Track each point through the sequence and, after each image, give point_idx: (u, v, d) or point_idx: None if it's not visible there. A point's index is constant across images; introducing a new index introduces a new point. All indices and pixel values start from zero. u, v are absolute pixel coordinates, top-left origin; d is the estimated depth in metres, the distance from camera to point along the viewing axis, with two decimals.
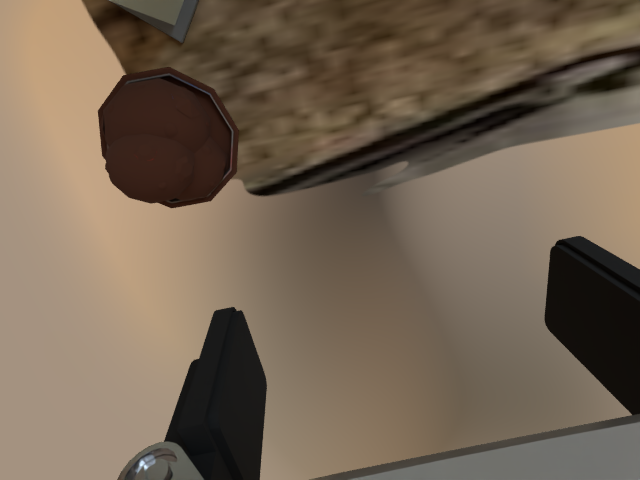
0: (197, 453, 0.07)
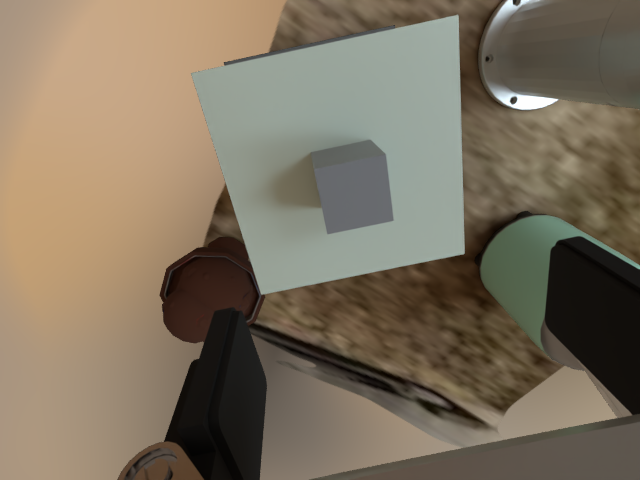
0: (197, 453, 0.07)
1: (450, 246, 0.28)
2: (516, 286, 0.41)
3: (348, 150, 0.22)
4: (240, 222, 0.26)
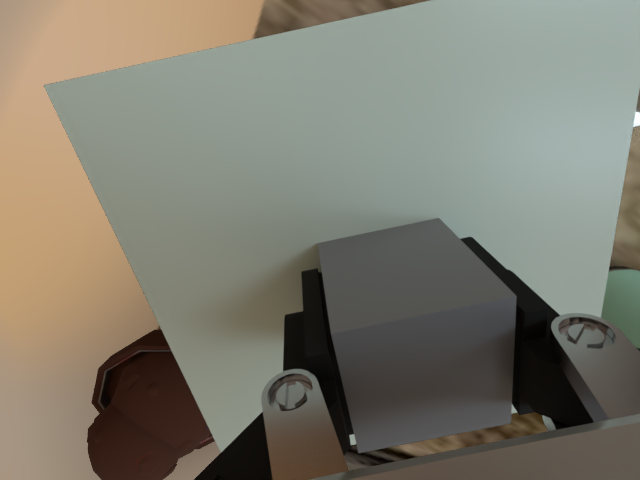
0: (318, 381, 0.08)
1: None
2: None
3: (402, 254, 0.10)
4: (183, 365, 0.14)
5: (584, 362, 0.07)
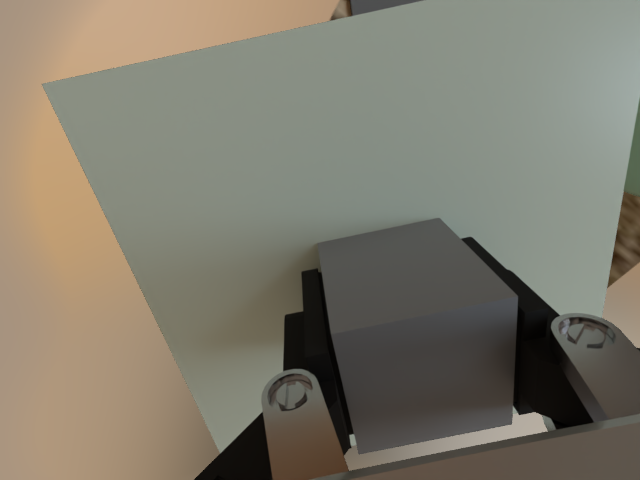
0: (318, 381, 0.08)
1: None
2: None
3: (402, 254, 0.10)
4: (182, 366, 0.14)
5: (584, 362, 0.07)
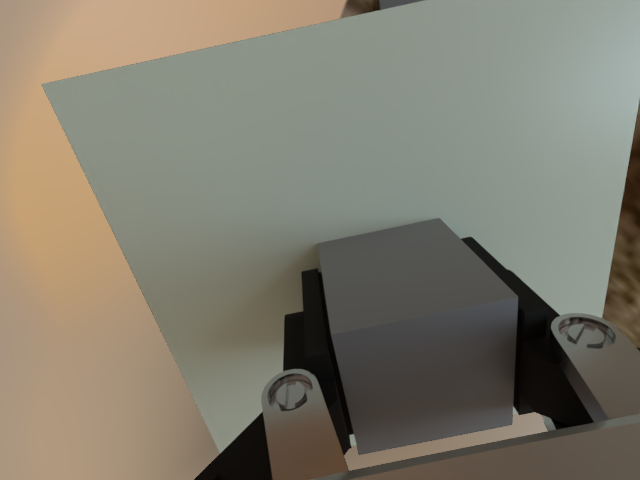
0: (318, 381, 0.08)
1: None
2: None
3: (402, 254, 0.10)
4: (182, 366, 0.14)
5: (584, 362, 0.07)
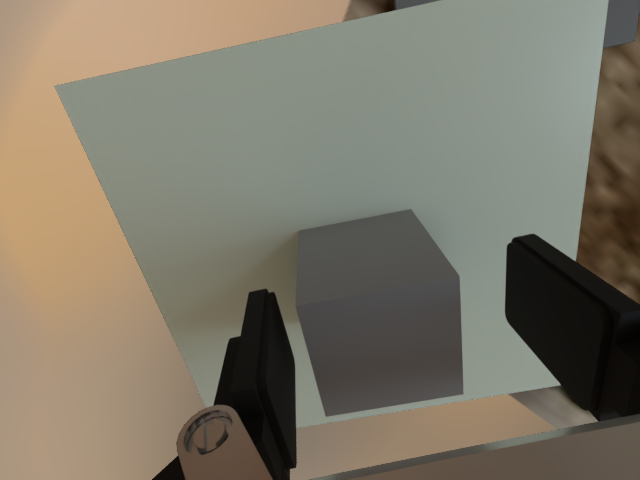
0: (246, 416, 0.08)
1: (537, 375, 0.16)
2: None
3: (370, 240, 0.11)
4: (178, 341, 0.15)
5: None
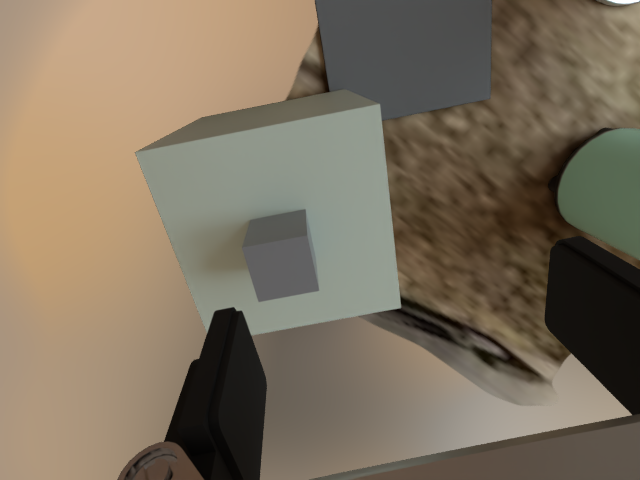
0: (197, 453, 0.07)
1: (387, 301, 0.30)
2: (615, 192, 0.38)
3: (280, 223, 0.24)
4: (187, 280, 0.28)
5: None
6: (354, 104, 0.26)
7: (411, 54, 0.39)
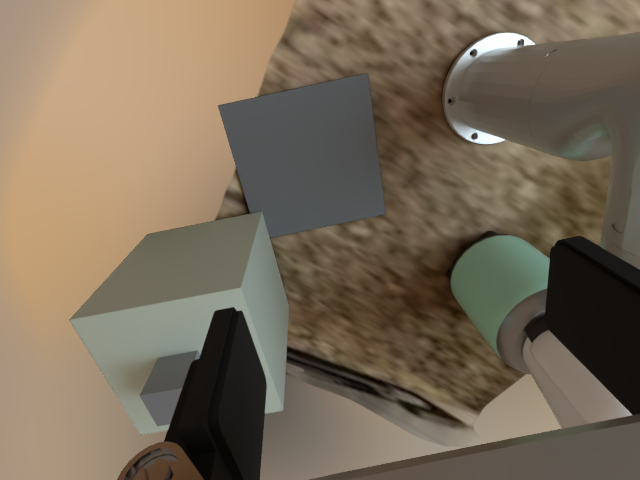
0: (197, 453, 0.07)
1: (271, 406, 0.39)
2: (477, 300, 0.46)
3: (174, 367, 0.34)
4: (117, 395, 0.37)
5: None
6: (231, 275, 0.35)
7: (314, 184, 0.48)
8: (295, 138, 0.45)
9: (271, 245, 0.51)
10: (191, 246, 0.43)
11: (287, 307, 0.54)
